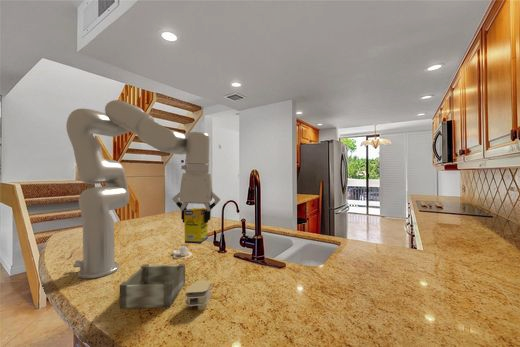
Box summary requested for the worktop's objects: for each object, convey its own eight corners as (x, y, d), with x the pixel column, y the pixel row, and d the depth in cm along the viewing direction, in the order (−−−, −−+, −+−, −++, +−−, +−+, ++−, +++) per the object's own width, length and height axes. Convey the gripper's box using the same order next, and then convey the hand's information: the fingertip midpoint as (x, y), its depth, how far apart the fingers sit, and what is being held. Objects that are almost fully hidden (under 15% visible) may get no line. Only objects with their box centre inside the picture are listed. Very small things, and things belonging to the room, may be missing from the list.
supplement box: (201, 244, 74) (200, 210, 74) (184, 243, 75) (183, 210, 75) (208, 238, 80) (207, 207, 80) (192, 238, 81) (191, 207, 81)
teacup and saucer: (170, 255, 102) (169, 246, 102) (187, 251, 107) (187, 242, 107) (177, 261, 95) (177, 251, 95) (195, 256, 101) (195, 247, 100)
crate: (119, 308, 62) (119, 285, 62) (143, 283, 75) (143, 264, 75) (170, 307, 62) (170, 284, 62) (185, 282, 76) (184, 263, 76)
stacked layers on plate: (191, 295, 69) (191, 277, 69) (220, 297, 68) (220, 278, 68) (175, 315, 59) (175, 294, 59) (207, 318, 58) (207, 297, 58)
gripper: (167, 168, 73) (165, 223, 73) (221, 170, 73) (220, 225, 74) (175, 168, 80) (174, 218, 81) (224, 170, 81) (223, 220, 81)
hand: (196, 221), depth 77 cm, fingers closed on supplement box, 6 cm apart
